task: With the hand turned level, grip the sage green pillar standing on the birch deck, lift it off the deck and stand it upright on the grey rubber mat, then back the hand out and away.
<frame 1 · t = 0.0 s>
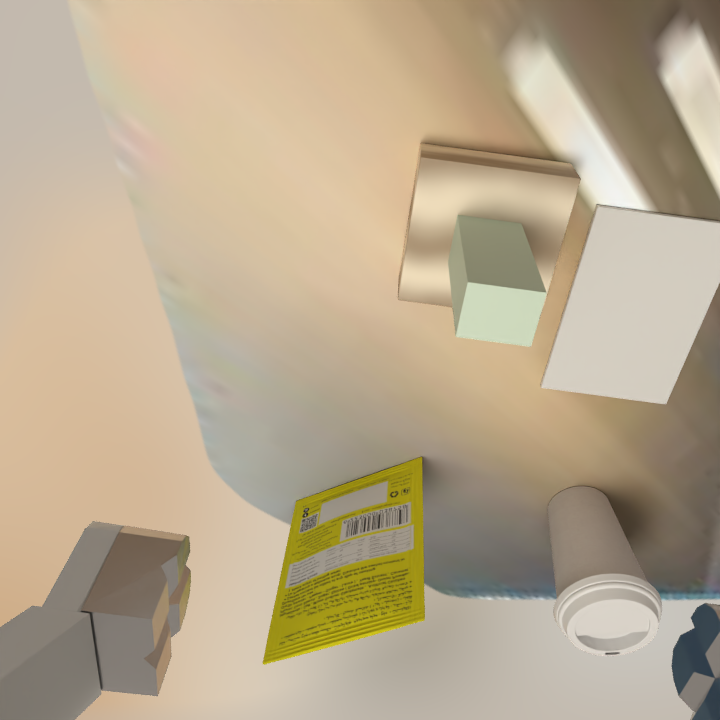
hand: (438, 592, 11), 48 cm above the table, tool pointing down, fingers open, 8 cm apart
food package: (357, 477, 74), on the table
rubber mat: (633, 310, 61), on the table
deck: (479, 224, 58), on the table
sage green pillar: (483, 243, 54), point 4 cm above the table, touching deck
coffee cup: (577, 507, 74), on the table
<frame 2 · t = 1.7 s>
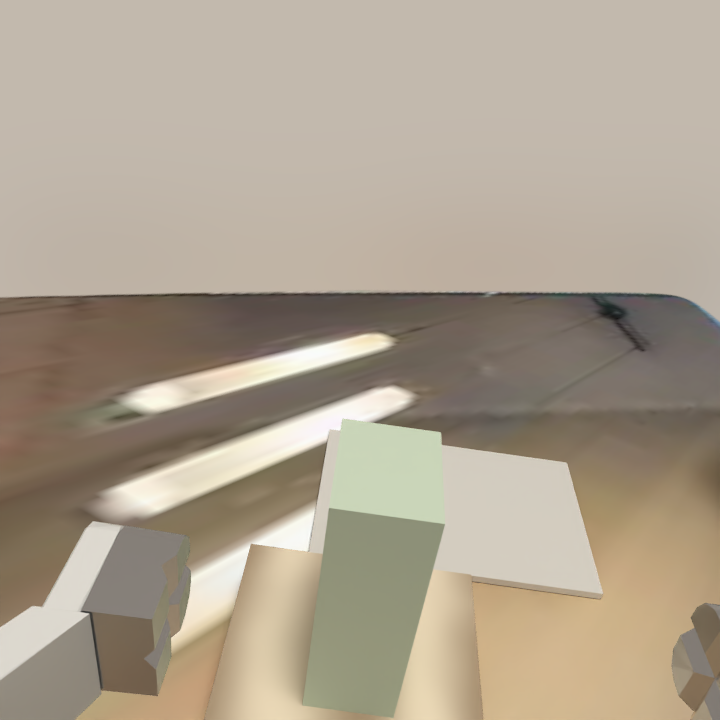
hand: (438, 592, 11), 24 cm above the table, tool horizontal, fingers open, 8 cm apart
rubber mat: (450, 508, 47), on the table
deck: (343, 707, 34), on the table
sage green pillar: (352, 659, 32), point 4 cm above the table, touching deck
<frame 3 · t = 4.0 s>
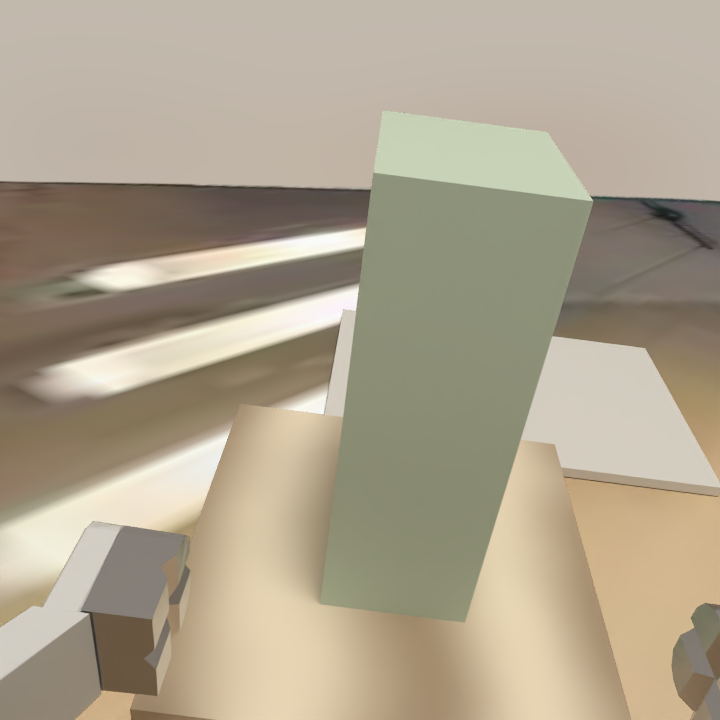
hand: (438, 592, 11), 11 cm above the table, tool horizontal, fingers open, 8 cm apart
rubber mat: (504, 393, 36), on the table
deck: (377, 627, 23), on the table
sage green pillar: (394, 544, 21), point 4 cm above the table, touching deck
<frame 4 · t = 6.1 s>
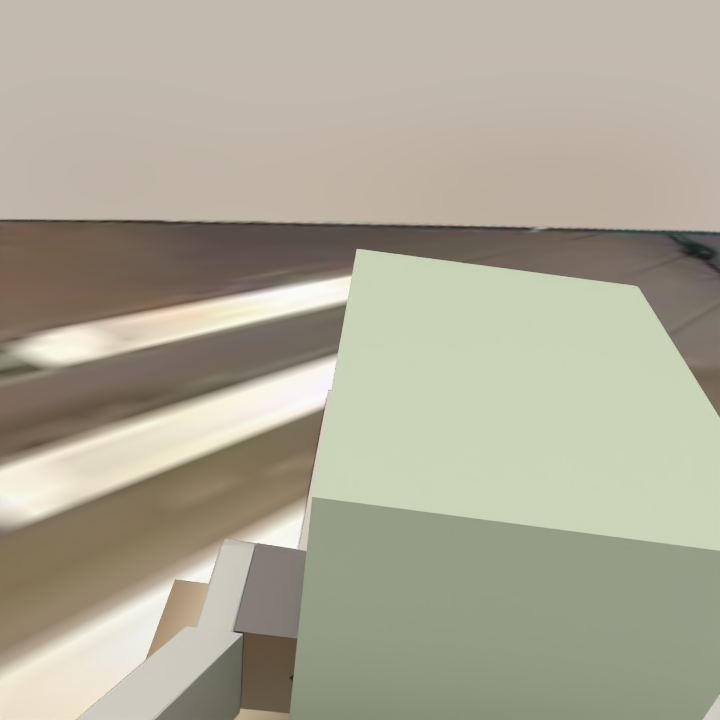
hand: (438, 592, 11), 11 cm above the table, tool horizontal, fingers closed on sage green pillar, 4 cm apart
rubber mat: (524, 508, 29), on the table
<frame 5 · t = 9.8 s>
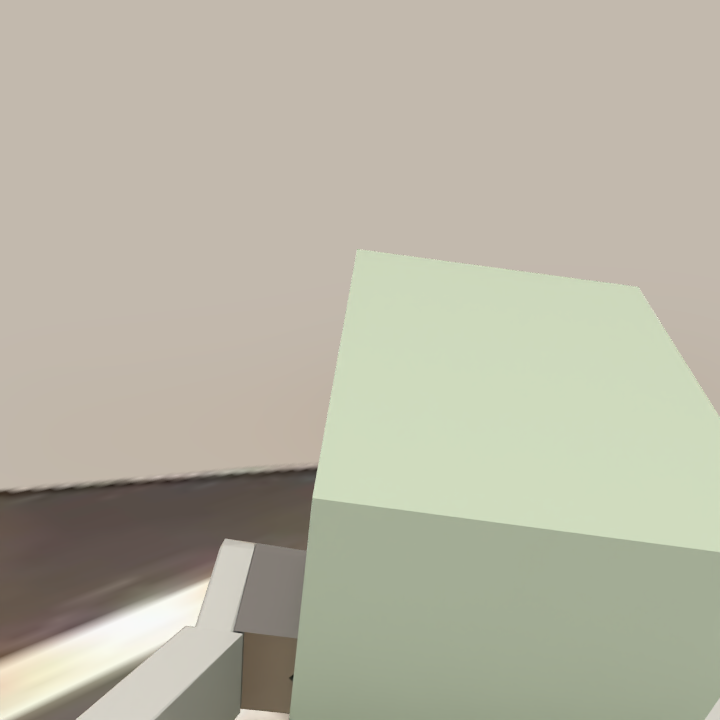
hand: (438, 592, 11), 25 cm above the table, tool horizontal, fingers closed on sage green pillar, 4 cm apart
when the fingers open (9 cm above the table, at t = 13.7 s): sage green pillar drops 2 cm, resting on rubber mat.
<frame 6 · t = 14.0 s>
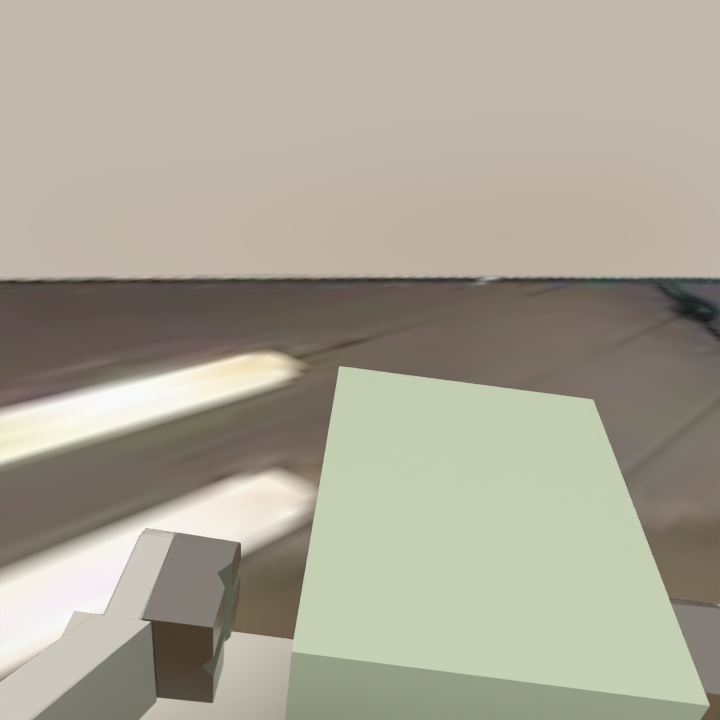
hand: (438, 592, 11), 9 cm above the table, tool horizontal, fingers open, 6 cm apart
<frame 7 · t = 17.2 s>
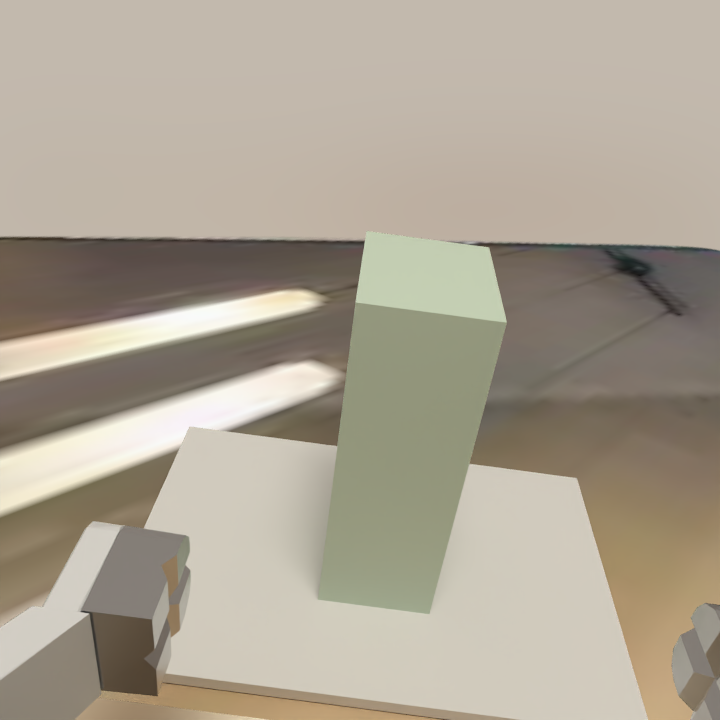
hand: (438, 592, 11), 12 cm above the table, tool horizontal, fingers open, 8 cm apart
rubber mat: (375, 561, 27), on the table
sage green pillar: (376, 552, 27), resting on rubber mat
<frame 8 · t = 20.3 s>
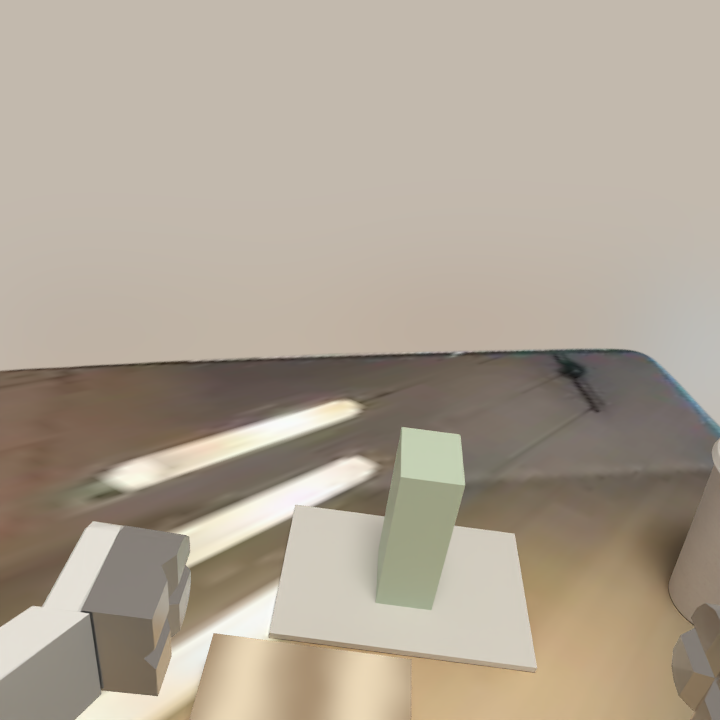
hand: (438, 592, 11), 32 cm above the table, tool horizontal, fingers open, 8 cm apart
rubber mat: (403, 582, 51), on the table
sage green pillar: (403, 578, 51), resting on rubber mat
coffee cup: (710, 604, 53), on the table
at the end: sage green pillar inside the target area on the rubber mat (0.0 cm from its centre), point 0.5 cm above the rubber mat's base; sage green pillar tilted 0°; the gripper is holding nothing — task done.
